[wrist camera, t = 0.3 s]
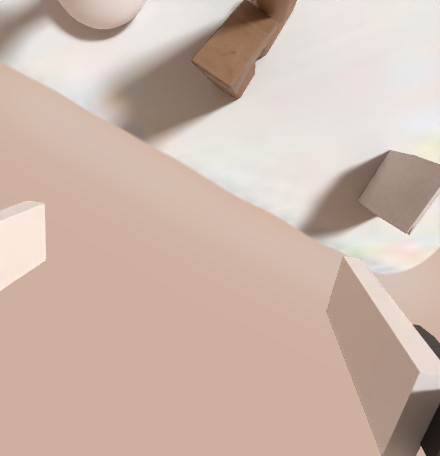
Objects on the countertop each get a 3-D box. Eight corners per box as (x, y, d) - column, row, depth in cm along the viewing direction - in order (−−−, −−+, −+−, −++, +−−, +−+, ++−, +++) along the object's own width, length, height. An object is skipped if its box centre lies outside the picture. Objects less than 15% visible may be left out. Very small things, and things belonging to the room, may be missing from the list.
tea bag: (357, 201, 40) (389, 225, 30) (389, 150, 38) (435, 159, 28) (383, 213, 40) (424, 242, 30) (417, 164, 38) (472, 178, 28)
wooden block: (212, 82, 37) (178, 50, 20) (266, -13, 34) (279, -149, 17) (239, 101, 37) (227, 84, 20) (295, 8, 34) (337, -105, 17)
